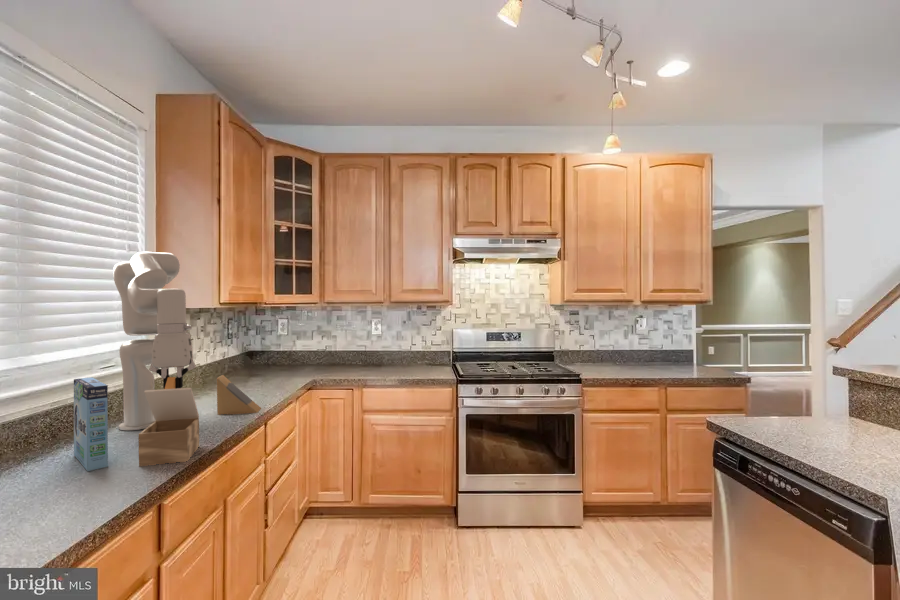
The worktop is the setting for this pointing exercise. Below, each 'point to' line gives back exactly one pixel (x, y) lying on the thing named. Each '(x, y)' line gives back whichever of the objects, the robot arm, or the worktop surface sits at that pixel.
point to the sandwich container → (233, 399)
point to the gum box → (91, 423)
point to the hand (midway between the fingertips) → (173, 390)
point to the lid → (172, 402)
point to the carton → (168, 441)
